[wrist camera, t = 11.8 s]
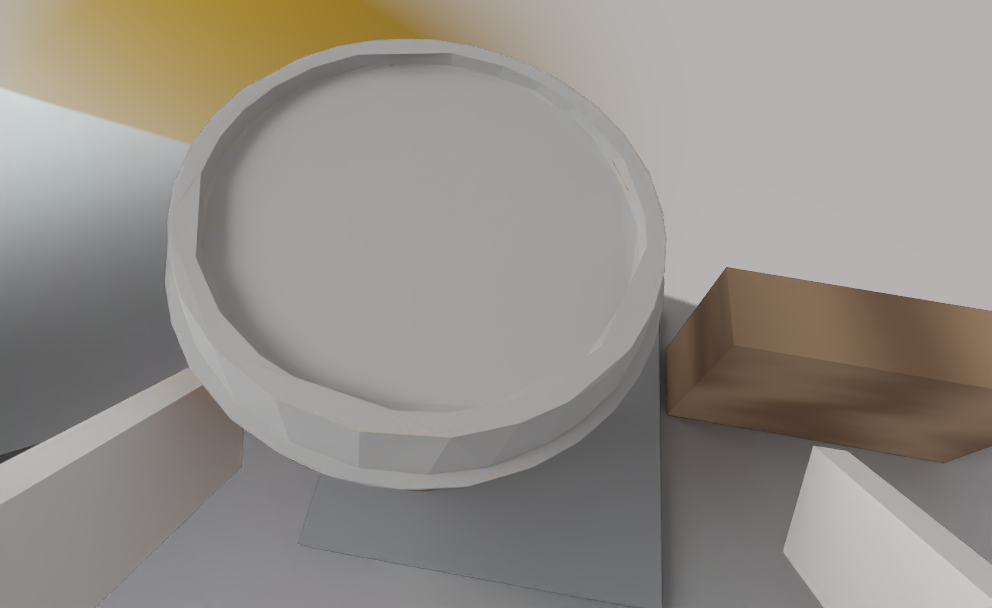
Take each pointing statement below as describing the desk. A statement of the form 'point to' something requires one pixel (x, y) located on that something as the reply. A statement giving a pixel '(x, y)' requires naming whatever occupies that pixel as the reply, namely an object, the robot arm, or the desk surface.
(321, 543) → the grey mat
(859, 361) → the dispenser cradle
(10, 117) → the desk surface
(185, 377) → the robot arm
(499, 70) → the disposable coffee cup
